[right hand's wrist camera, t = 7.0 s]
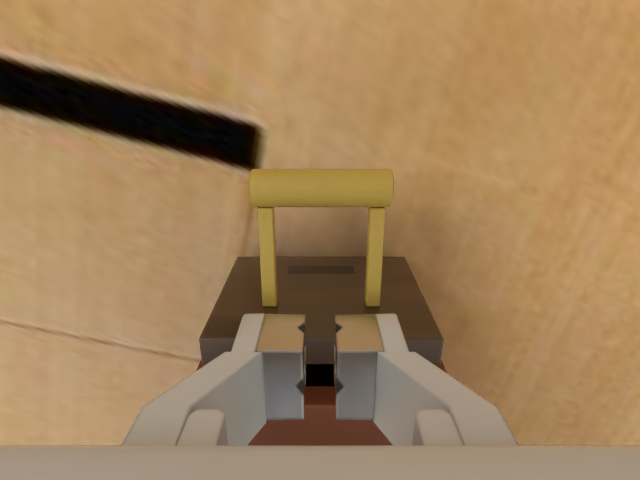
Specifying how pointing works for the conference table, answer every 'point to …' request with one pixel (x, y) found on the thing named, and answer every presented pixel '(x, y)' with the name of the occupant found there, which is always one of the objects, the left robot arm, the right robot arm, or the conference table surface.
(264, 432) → the cabinet
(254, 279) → the drawer
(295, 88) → the conference table surface
